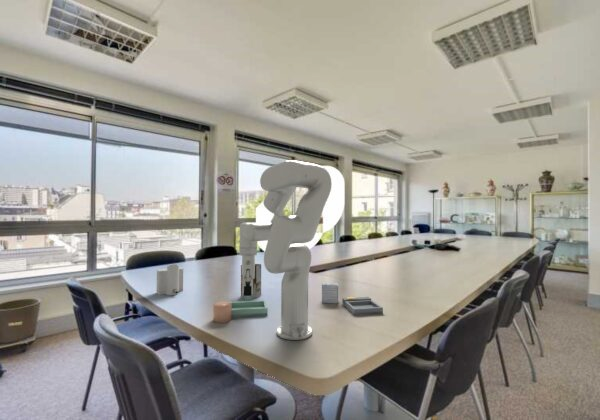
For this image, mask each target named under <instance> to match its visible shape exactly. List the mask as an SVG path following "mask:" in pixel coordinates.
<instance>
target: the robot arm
mask: <svg viewBox="0 0 600 420" xmlns="http://www.w3.org/2000/svg"><path fill="white" fill-rule="evenodd" d="M259 184H260V187H261V189H262V190H264V191H265V192H266V193H267V194H266V195H265V197H264V199H263V206H264V207H265V209H267V211H269V212H270V213H271V214H273V216H272V218H271V220H270V222H249V221H248V222H242V223H240V225H239V244H238V245H239V249H238V250H239V251H238V254H239V255H238V256H241V265H242V274H243V279H244V278H246V279H244V280H245V282H244V296H251V290H252V286H251V278H253V279H254V278H255V264H256V259H255V256H257V255H258V242H265V241H267V243H266V246H265V250H264V254H263V255H264V256H263V265H264V267H265V268H264V269H265V270H267V272H269V273H271V274H274V275H275V274H283V276H282V279H281V287H280V288H281V290H280V291H281V294H280V295H281V297H280V299H281V301H280V302H281V303H280V305H281V307H280V308H281V309H280V313H281V314H280V317H281V318H280V321H281V322H280V324H281V325H279V326H278V327H277V328H276V334H277V336H278V337H279V338H282V339H285V340H289V341H299V340H305V339H308V338H309V337H311V336H312V335H313V328H312V327H311V326H310V325H309V278H310V277H309V276H310V275H309V274H310V269H311V264H312V252H311V250H310V248H309V247H308V246H307V245H306V244H305V243H310V242H312V241H313V239H314V238H315V235H316V233H317V229H318V228H319V223H320V221H321V219H322V218H321V217H322V214H323V210H324V208H325V206H326V202H327V201H328V199H329V196H330V194H331V192H332V191H331V190H332V178H331V175H330V172H329V171H328V170H327V169H326V168H325V167H323V166H321V165H319V164H316V163H311V162H305V161H300V160H292V159H291V160H285V161H283V162H282V161H281V162H280V163H277V164H275V165H271V166H269V167H267V168H266V169H265V170H264V171H263V172H262V173H261V176H260V180H259ZM297 188H301V189H302V188H303V189H307V191H306V192H305V193H304V194H303V195H302V197H300V200H299V202H298V204H297V208H296V211H295V213H294V214H293V215H292V214H291V215H290V214H289V215H285V212H284V210H285V208H286V206H287V205H288V203H289V201H290V200H291V199H292V196H293V194H294V193H295V191H296V189H297ZM249 278H250V279H249ZM249 280H250V281H249Z"/></svg>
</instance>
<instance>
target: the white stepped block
mask: <svg viewBox="0 0 600 420" xmlns="http://www.w3.org/2000/svg"><path fill="white" fill-rule="evenodd" d="M179 291H180V292H184V268H183V267H180V264H176V263H175V264H168V265H167V266H166V268H163V269H156V294H157V295H158V296H160V295H166V296H176V295H177V294H178V293H180V292H179Z"/></svg>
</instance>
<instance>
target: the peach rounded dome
mask: <svg viewBox="0 0 600 420" xmlns="http://www.w3.org/2000/svg"><path fill="white" fill-rule="evenodd" d="M231 302H232V301H218V302H214V303H213V305H212V306H213V309H212V311H213V313H212V314H213V316H212V321H213V322H214V323H223V324H224V323H227V322H230V321H231V320H232V318H231V313H232V303H231Z"/></svg>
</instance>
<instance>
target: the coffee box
mask: <svg viewBox="0 0 600 420" xmlns="http://www.w3.org/2000/svg"><path fill="white" fill-rule="evenodd" d="M252 279H253V278H252ZM242 282H243V274H242V264H241V265H240V297H241V298H242ZM260 296H262V264H261V263H255V278H254V279H253V298H254V299H255V298H256V299H257V298H259V297H260ZM253 298H252V299H253Z"/></svg>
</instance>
